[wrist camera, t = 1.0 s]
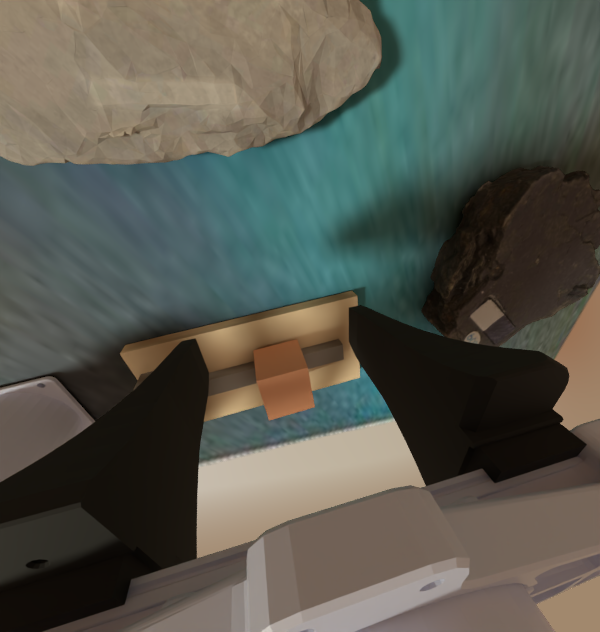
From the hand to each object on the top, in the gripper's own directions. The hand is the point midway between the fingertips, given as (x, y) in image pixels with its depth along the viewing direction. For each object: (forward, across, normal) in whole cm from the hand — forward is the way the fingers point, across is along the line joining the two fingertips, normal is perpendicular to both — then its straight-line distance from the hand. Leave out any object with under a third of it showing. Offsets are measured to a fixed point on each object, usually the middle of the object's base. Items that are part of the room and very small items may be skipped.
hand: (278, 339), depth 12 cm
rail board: (+10, +2, +9) cm, 13 cm away
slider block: (+8, 0, +9) cm, 12 cm away
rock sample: (+11, -23, +4) cm, 25 cm away
